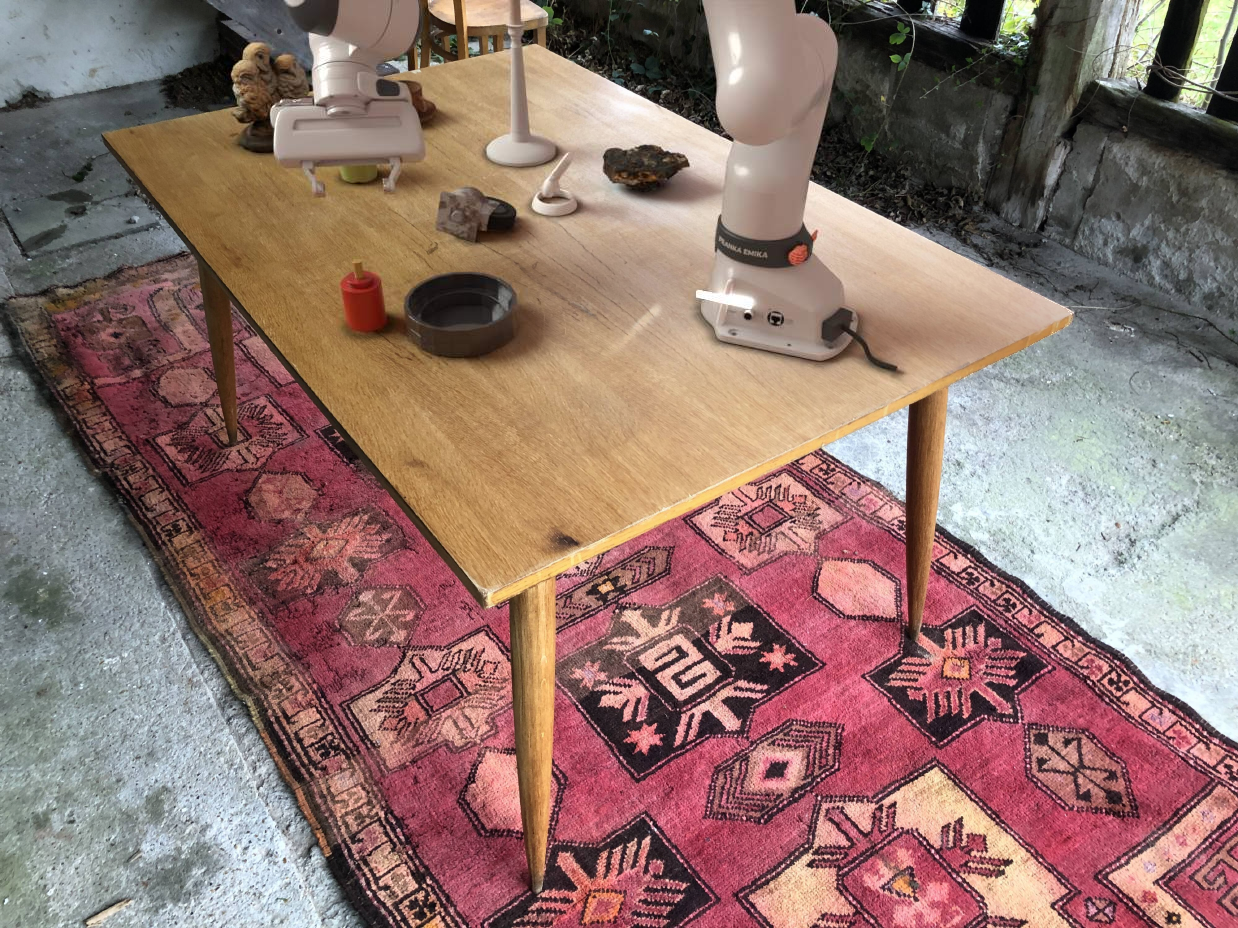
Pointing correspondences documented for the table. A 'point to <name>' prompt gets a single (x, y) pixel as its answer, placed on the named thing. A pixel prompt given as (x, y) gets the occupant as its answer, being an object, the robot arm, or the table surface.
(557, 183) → the hook
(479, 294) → the bowl
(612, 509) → the table surface
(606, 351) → the table surface
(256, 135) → the owl figurine
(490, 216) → the caster wheel
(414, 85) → the cup and saucer
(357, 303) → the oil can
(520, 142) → the candlestick
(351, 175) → the plant pot
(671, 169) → the fossil rock
